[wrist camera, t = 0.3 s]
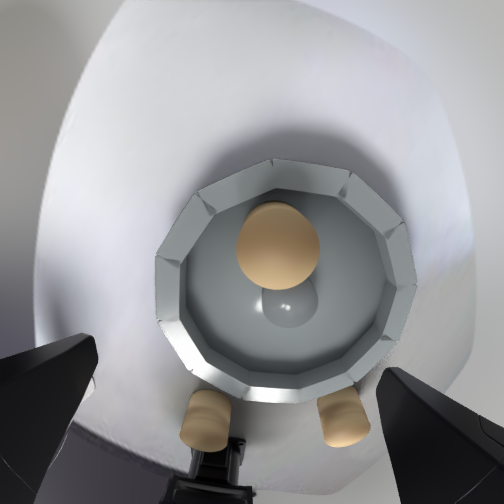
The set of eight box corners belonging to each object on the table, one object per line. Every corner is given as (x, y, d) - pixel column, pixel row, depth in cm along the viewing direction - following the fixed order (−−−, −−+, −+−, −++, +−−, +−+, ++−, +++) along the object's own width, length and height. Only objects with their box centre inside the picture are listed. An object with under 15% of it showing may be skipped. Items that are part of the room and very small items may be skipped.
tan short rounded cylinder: (300, 265, 20) (312, 293, 15) (239, 258, 20) (232, 284, 15) (309, 204, 19) (326, 214, 14) (245, 196, 19) (240, 203, 14)
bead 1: (230, 419, 26) (226, 454, 21) (190, 413, 26) (181, 447, 21) (233, 392, 25) (228, 430, 20) (189, 386, 25) (178, 422, 20)
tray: (362, 382, 24) (371, 402, 21) (170, 366, 24) (161, 386, 21) (416, 188, 19) (437, 191, 16) (174, 153, 19) (161, 149, 16)
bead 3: (350, 411, 25) (360, 445, 21) (312, 412, 25) (318, 448, 20) (363, 384, 24) (377, 418, 19) (323, 384, 24) (332, 421, 19)
